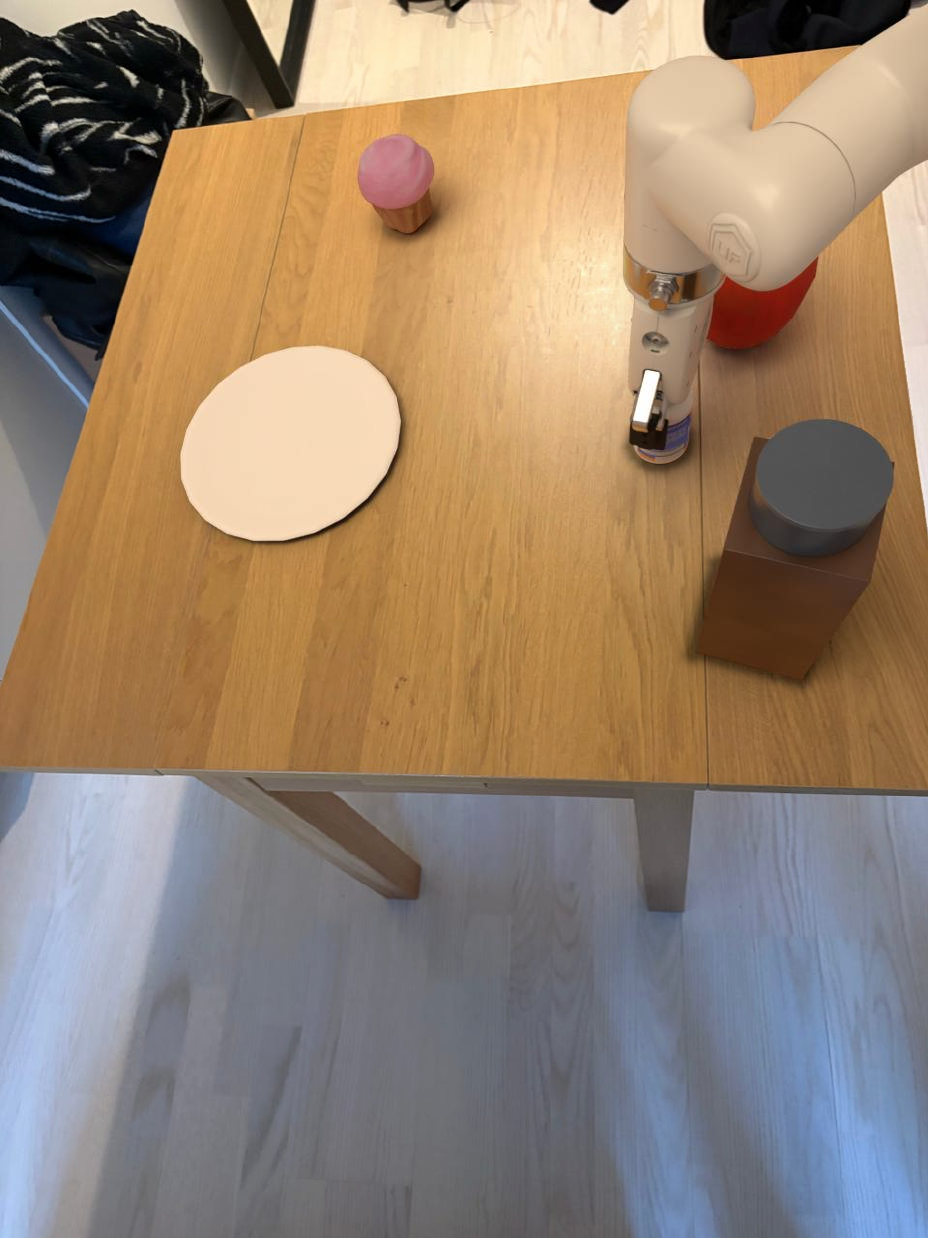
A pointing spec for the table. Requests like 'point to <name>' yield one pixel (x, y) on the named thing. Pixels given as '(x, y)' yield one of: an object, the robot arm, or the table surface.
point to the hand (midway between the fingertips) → (661, 401)
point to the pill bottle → (671, 431)
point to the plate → (290, 443)
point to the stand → (780, 593)
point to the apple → (755, 310)
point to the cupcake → (397, 181)
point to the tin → (819, 487)
